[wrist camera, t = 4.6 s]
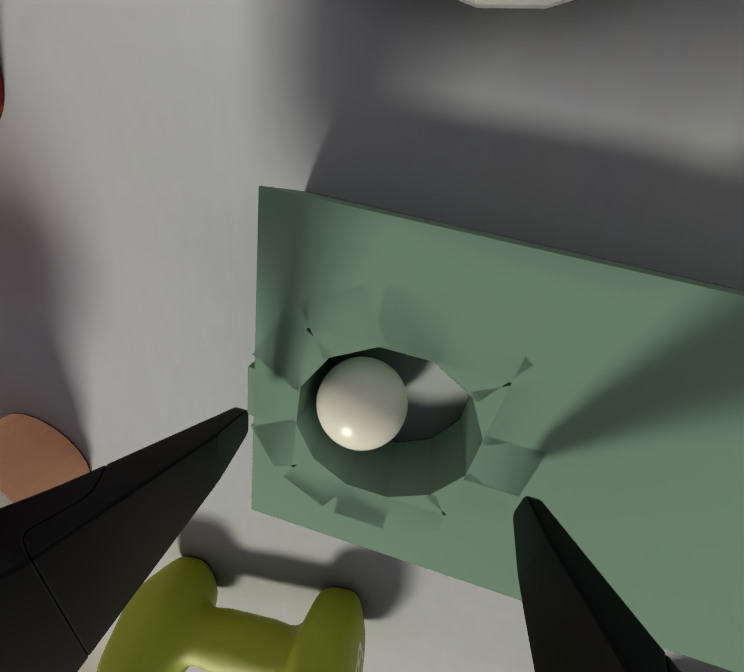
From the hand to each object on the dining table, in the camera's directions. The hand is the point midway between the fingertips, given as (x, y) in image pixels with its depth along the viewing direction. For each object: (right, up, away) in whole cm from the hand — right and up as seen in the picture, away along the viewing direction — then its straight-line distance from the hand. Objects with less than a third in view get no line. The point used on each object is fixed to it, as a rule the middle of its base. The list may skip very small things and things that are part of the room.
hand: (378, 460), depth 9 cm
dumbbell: (-8, -16, +14) cm, 23 cm away
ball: (-1, +1, +2) cm, 3 cm away
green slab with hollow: (+7, 0, +3) cm, 7 cm away
